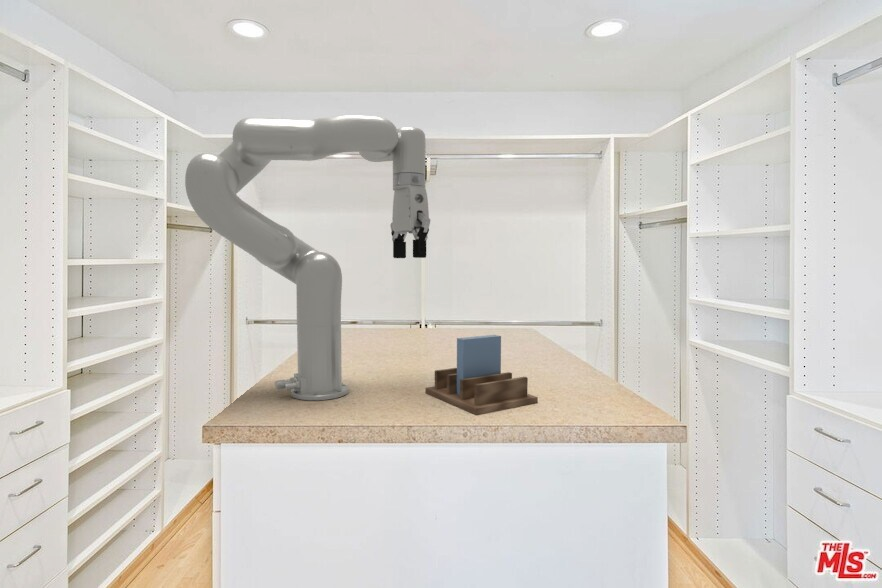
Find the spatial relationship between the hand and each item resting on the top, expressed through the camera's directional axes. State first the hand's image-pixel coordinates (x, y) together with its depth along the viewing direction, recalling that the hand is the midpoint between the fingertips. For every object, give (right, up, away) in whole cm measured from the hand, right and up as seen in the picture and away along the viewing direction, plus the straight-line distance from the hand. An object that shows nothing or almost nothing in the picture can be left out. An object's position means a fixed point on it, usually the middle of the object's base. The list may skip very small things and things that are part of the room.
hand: (409, 257), depth 115 cm
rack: (+16, -31, -8) cm, 36 cm away
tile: (+16, -30, -8) cm, 35 cm away
